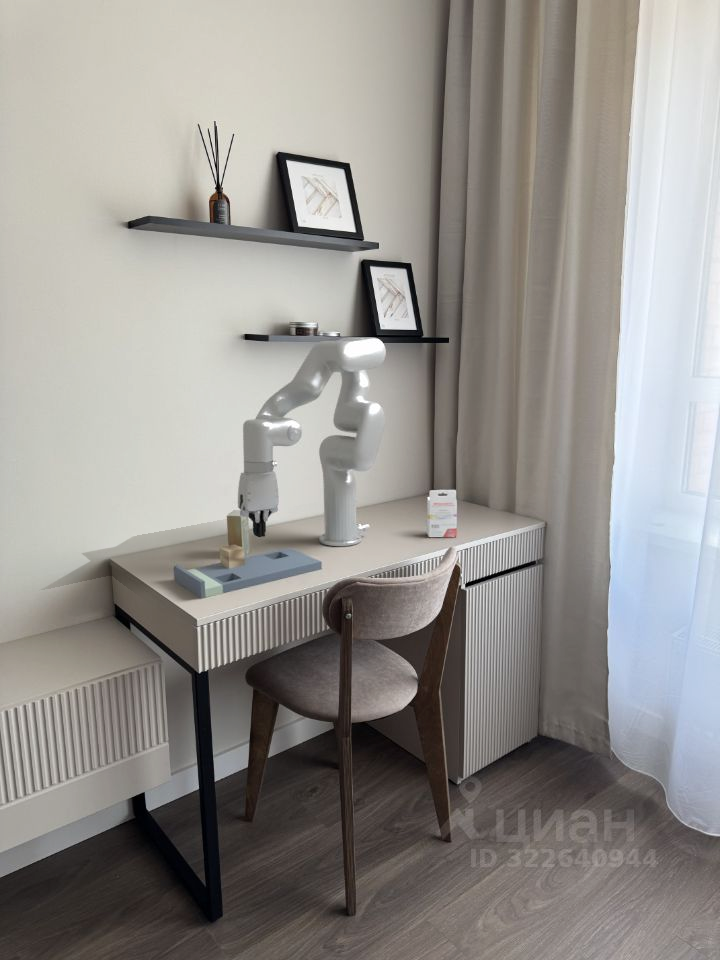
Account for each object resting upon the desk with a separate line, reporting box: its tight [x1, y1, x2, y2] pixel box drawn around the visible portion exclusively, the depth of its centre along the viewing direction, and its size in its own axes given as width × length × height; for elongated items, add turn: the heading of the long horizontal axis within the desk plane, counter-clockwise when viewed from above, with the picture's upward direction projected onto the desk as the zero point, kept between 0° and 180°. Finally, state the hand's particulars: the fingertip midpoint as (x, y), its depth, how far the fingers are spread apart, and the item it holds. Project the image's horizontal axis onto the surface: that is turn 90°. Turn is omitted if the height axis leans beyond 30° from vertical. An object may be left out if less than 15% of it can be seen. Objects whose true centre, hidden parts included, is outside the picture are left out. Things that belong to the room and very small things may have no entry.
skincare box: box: [226, 509, 251, 558], centre depth 199 cm, size 6×4×12 cm
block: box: [219, 545, 245, 569], centre depth 185 cm, size 4×4×4 cm
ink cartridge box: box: [426, 489, 458, 538], centre depth 215 cm, size 9×5×15 cm, turn 91°
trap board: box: [173, 547, 323, 599], centre depth 183 cm, size 34×16×4 cm, turn 127°
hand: (259, 535), depth 188 cm, fingers closed
